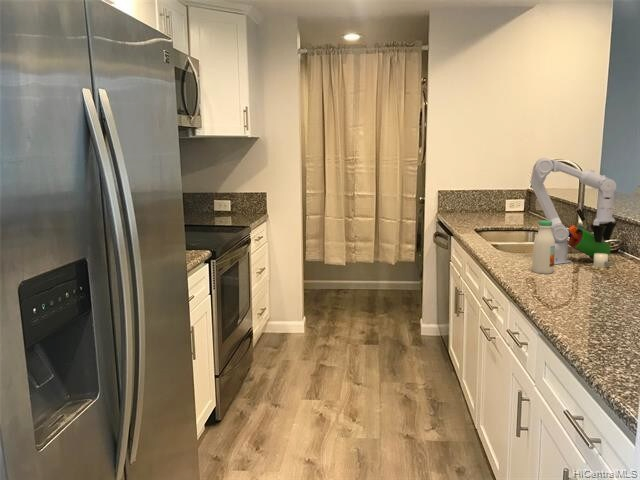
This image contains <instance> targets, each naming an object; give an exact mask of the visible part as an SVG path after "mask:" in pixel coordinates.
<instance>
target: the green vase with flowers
mask: <svg viewBox="0 0 640 480" xmlns="http://www.w3.org/2000/svg"><path fill="white" fill-rule="evenodd" d="M568 231H569V237H568V238H569V239H568V246H570V247H571V248H573V249H575V250H577V251H578V252H580V253H582V254H585V255H586V256H588V257H589V258H590V259H591V260H594V253H605V254H608V257H609V256H610V254H611V245H610V243H608V242H607V240H603V239H602V241H601V243H599V242H595V238H594V233H591V232H590V231H587V230H586V229H584V228H582V227H580V226H575V225H574V224H572V225H570V227H569V228H568Z"/></svg>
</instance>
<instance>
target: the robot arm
mask: <svg viewBox="0 0 640 480" xmlns="http://www.w3.org/2000/svg"><path fill="white" fill-rule="evenodd" d="M552 172H553V173H556V172H557V173H558V172H561V173H563V174H567V175H569V176H572V177H574V178H577V179H579V183H581V184H582V185H585V186H587V187H590V188H592V189H594V190H598V196H597V205H596V218H595V219H593V223H592V224H590V228H591V230H592V232H593V233H592V234H593V235H594V238H595V242H599V243H601V241H602V240H604V241H610V240H611V237H612V234H613V231H614V229H615V228H616V226H617V223H616V219H615V217H613V216H614V215H613V213H614V202H615V191H616V190H617V187H618V186H617V184H616V181H615V180H614V179H612V178H609V177H606V175H604V174H603V175H601V174H599V173H596V172H595V170H593V169H590V170H588V169H587V170H584V171H582V170H579V169H577V168H576V167H573V166H571V165H568V164H566V163H563V162H561V161H557V160H553V159H549V158H546V157H541V158H539V159H538V160H537V161H535V163H534V165H533V166H532V171H531V177H530V186H531V187H532V191H534V194H535V196H536V199H537V201H538V203H539V206H541V207H540V208H541V209H542V212H543V213H544V216H545V218H546V221H552V227H551V231H552V235H553V237H554V240H555V255H554V265H561V264H567V263H569V264H570V263H572V260H570V259H568V253H569V252H568V251H569V239H568V238H569V228H567V227H566V226H565V225H564V224H563V222H562V221H561V219H560V216H559V214H558V213H557V210H556V208H555V206H554V203H553V201H552V199H551V196H550V195H549V193H548V191H547V188H546V186H545V185H544V182H545V180H546V179H547V177H548V175H549V174H550V173H552Z"/></svg>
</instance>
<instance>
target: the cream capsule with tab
mask: <svg viewBox="0 0 640 480" xmlns="http://www.w3.org/2000/svg"><path fill="white" fill-rule="evenodd" d="M608 259H609V256H608V254H605V253H594V259H593V265H592V266H593V267H595V268H602V269H603V268H607V267H612V264H613V263H612V262H611V261H609V260H608Z"/></svg>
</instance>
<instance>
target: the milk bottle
mask: <svg viewBox="0 0 640 480" xmlns="http://www.w3.org/2000/svg"><path fill="white" fill-rule="evenodd" d="M551 227H552V221H548V220H547V219H545V220H539V222H538V228H539V229H538V231H537V233H536V235H535V237H534V240H533V248H532V261H531V262H532V264H531V266H532V267H531V270H532V272H533V273H535V274H536V273H537V274H545V275H546V274H548V275H550V274H552V273H553V272H554V268H555V264H554V255H555V240H554V237H553V235H552V231H551Z"/></svg>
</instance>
